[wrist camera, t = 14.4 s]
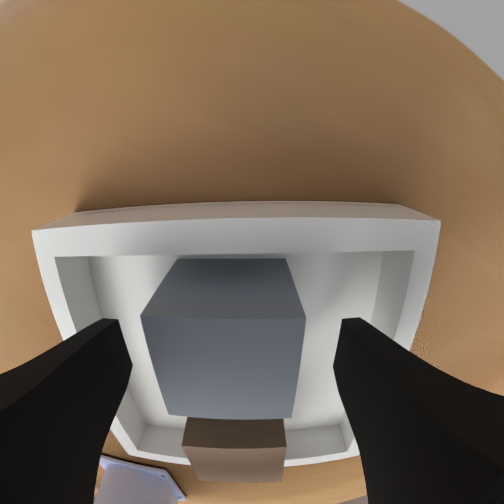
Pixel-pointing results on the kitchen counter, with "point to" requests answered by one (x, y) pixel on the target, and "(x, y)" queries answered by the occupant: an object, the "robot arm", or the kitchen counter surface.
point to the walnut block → (235, 449)
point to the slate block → (226, 338)
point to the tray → (241, 247)
